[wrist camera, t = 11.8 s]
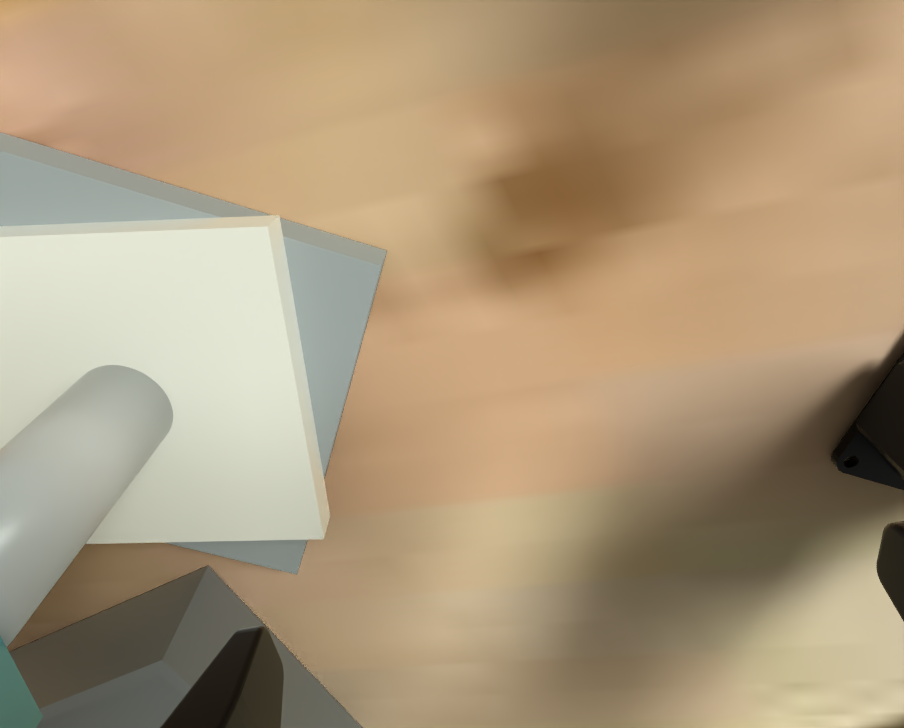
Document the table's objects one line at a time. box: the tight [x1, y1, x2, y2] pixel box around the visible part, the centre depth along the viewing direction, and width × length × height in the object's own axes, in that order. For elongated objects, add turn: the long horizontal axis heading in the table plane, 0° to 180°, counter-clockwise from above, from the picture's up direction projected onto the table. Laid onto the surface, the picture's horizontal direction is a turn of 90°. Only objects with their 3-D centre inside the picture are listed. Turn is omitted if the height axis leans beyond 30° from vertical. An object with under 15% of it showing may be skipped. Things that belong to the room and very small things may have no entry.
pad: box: [0, 132, 387, 574], centre depth 22 cm, size 13×13×2 cm
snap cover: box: [0, 215, 330, 728], centre depth 16 cm, size 11×11×10 cm
